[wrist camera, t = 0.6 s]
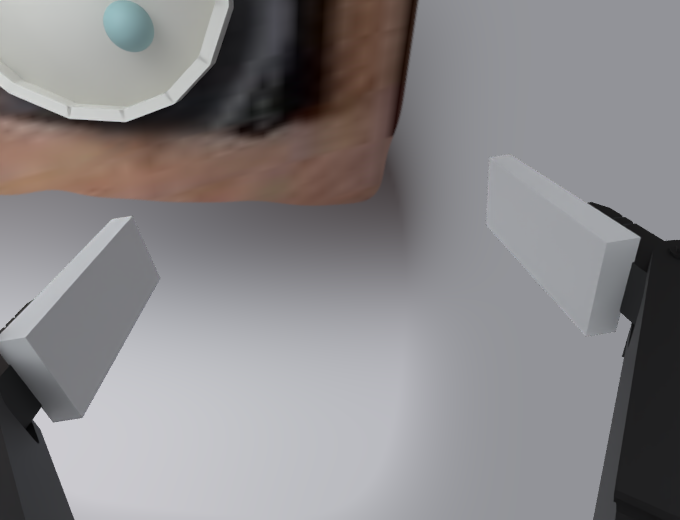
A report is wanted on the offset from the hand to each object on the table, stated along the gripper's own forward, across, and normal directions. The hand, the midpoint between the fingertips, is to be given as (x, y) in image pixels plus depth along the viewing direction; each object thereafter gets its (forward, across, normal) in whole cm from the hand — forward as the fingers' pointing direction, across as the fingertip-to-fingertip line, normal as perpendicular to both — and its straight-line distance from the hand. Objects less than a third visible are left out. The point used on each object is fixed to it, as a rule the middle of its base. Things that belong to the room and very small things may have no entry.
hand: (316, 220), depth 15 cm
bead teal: (+25, -13, +8) cm, 29 cm away
